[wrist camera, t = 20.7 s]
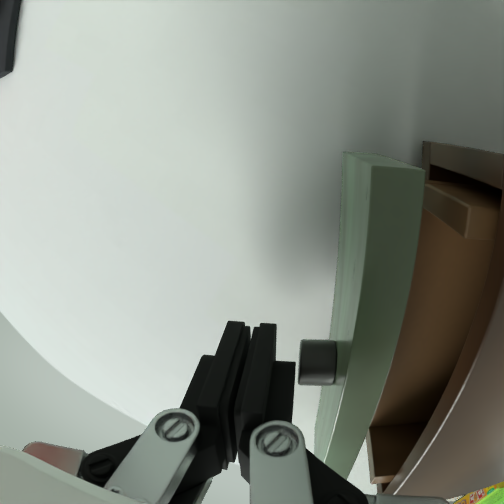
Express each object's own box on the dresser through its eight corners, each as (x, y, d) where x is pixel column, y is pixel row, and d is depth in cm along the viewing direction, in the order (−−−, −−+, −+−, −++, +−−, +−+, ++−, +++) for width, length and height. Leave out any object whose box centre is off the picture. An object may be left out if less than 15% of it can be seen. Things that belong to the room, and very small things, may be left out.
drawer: (291, 426, 15) (285, 495, 11) (305, 150, 10) (310, 163, 6) (514, 403, 13) (537, 450, 9) (589, 192, 8) (646, 219, 4)
